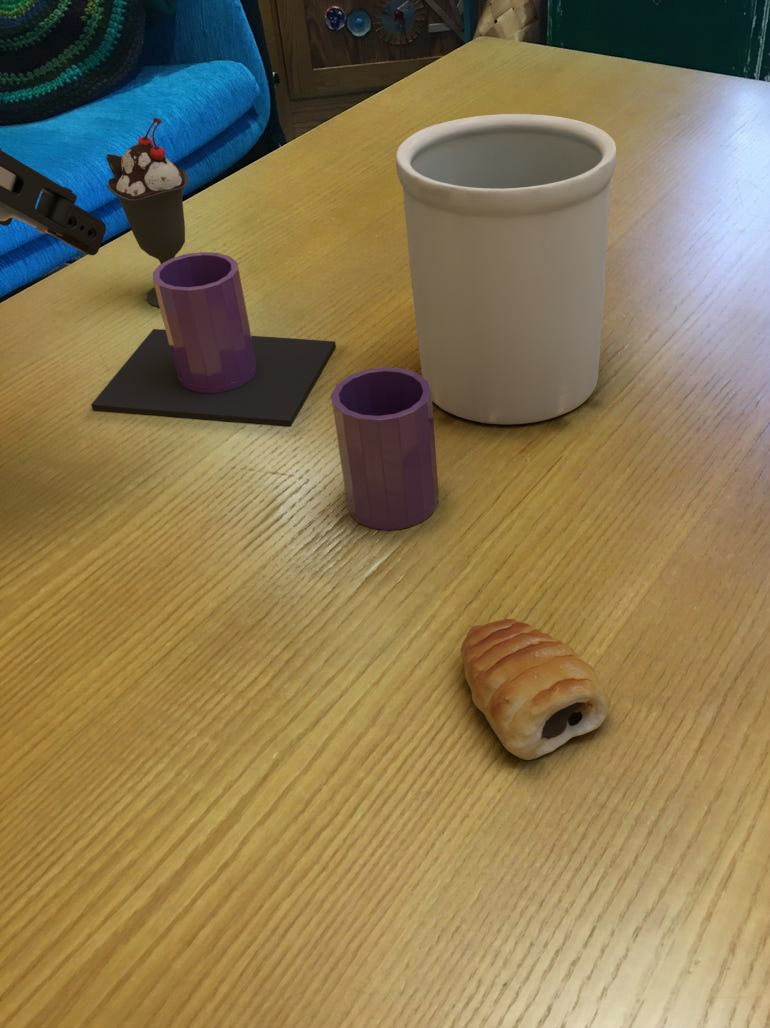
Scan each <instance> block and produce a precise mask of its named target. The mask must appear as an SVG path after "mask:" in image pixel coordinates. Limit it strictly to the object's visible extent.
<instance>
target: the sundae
mask: <svg viewBox="0 0 770 1028" xmlns="http://www.w3.org/2000/svg"><path fill="white" fill-rule="evenodd" d="M152 120H153V121H152V123H151V124H150V126H149V127H148V130H147V132H146V133H145V135H144V136H141V137H139V138H138V139H137V144H133V145H132V146H130V147H129V148H128V149H127V150H126V151H125V152H124V153H123V155H117V154H113V153H112V154H110V153H107V154H106V155H105V159H106V161H107V164H108V166H109V168H110V171H111V172H112V175H113V177H111V178H109V179H108V181H107V182H108V184H107V185H106V189H107V191H109V192H110V193H111V194H113V195H114V196H116V197H117V199H118V200H119V203H120V205H121V207H122V210H123V212H124V215H125V217H126V219H127V223H128V224H129V226H130V230H131V232H132V234H133V236H134V239H135V241H136V242H137V244H138V247H139V248H140V249H141V251H142V252H144V253H146V254H147V255H148V256H150V257H152V258H154V259H157V260H158V261H159V263H160V264H162V263H164V262H166V261H167V260H169V259H172V258H175V257H176V255H177V254H178V253H180V251H182V250H181V249H183V246H184V245H185V243H186V223H185V213H184V203H183V190H184V189H186V188H187V187H188V185H189V175H188V173H187V172H186V170H185V169H184V168H183V167H177V165H176V164H174V163H173V162H172V161H171V160H170V159H168V158H167V157H166V151H165V149H164V148H163V147H162V146H158V145H157V143H156V140H155V132H156V129H157V128H158V126H159V125H160V124H162V123H163V121H162V119H161V118H159V117H153V118H152ZM154 124H156V125H155V126H154ZM153 126H154V128H153V130H152V136H151V138H152V139H151V138H150V137H149V133H150V132H151V129H152V127H153ZM160 264H159V265H160ZM146 301H147V302H148V303H149V304H150V305H151V306H154V307H158V308H160V306H159V302H158V298H157V294H156V290H155V286H154V287H152V288H150V290H148V292H147V294H146Z"/></svg>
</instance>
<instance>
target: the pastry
mask: <svg viewBox="0 0 770 1028" xmlns="http://www.w3.org/2000/svg"><path fill="white" fill-rule="evenodd" d="M460 656H461V659H462V662H463V666H464V678H465V680H466V682H467V684H468V687H469V689H470V692H471V699H472V702H473V704H474V706H475V707H476V708H477V709H478V710H479V711H480V712H481V713H482V714H483V716H484V718H485V720H486V721H487V722H488V724H489V726H490V728H491V729H492V730H493V732H494V733H495V735H496V737H497V738H498V740H499V741H500V743H501V745H502V746H503V747H504V749H505V750H506V751H507V752H509V753H510V754H512V755H514V756H516V757H517V758H519V759H521V760H525V761H531V760H536V759H538V758H540V757H542V756H544V755H547V754H550V753H552V752H554V751H555V750H556V749H557V748H558V749H559V748H560V747H561V746H563V745H565V744H566V743H567V742H568V741H569V740H570V739H572V738H574V737H579V736H582V735H585V734H588V733H590V732H592V731H595V730H596V729H598V728H599V727H601V725H602V723H603V722H604V721H605V720H606V719H607V717H608V714H609V710H610V708H611V707H610V706H611V697H610V696H609V694H607V693H606V690H605V688H604V685H603V684H602V683H601V681H600V680H599V678H598V676H597V673H596V671H595V669H594V667H593V666H592V665H590V664H589V663H587V662H586V661H585V660H584V659H582V658H581V656H580V655H579V654H578V653H576V651H575V650H574V649H573V648H572V647H571V646H569V645H568V644H567V643H564V642H563V641H561V639H560V640H559V639H555V638H554V637H552V636H550V635H549V634H548V633H545V632H542V631H541V630H540V629H538V628H536V627H534V626H531V625H530V624H529V623H525V622H521V621H518V620H517V619H514V618H504V619H500V620H495V621H491V622H489V623H486V624H484V625H479V624H477V625H473V626H471V627H470V628H469V629H468V631H467V633H466V637H465V638H464V640H463V641H462V643H461V647H460Z"/></svg>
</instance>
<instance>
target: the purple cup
mask: <svg viewBox="0 0 770 1028" xmlns="http://www.w3.org/2000/svg"><path fill="white" fill-rule="evenodd" d="M152 282H153V286H154V287H155V290H156V294H157V298H158V302H159V306H160V307H159V310H160V313H161V318H162V322H163V325H164V330H166V334H167V338H168V342H169V346H170V350H171V354H172V358H173V362H174V366H175V370H176V374H177V375H178V379H179V382H180V383H181V385H182V386H184V387H185V388H187V389H189V390H191V391H194V392H200V393H219V392H225V391H229V390H233V389H236V388H238V387H240V386H242V385H244V384H246V383H247V382H249V381H250V380H251V379H252V378H253V377H254V376H255V374H256V372H257V363H256V357H255V351H254V346H253V341H252V336H253V335H252V332H251V326H250V321H249V316H248V310H247V306H246V299H245V294H244V290H243V284H242V280H241V274H240V269H239V265H238V262H237V261H236V260H235V259H234V258H233V257H231V256H230V255H227V254H224V253H221V252H207V251H201V252H192V253H185V254H181V255H178V256H175V257H174V258H172V259H169V260H167V261H166V262H164V263H162V264H158V265H157V267H156V268H155V269H154V270H153V271H152Z"/></svg>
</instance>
